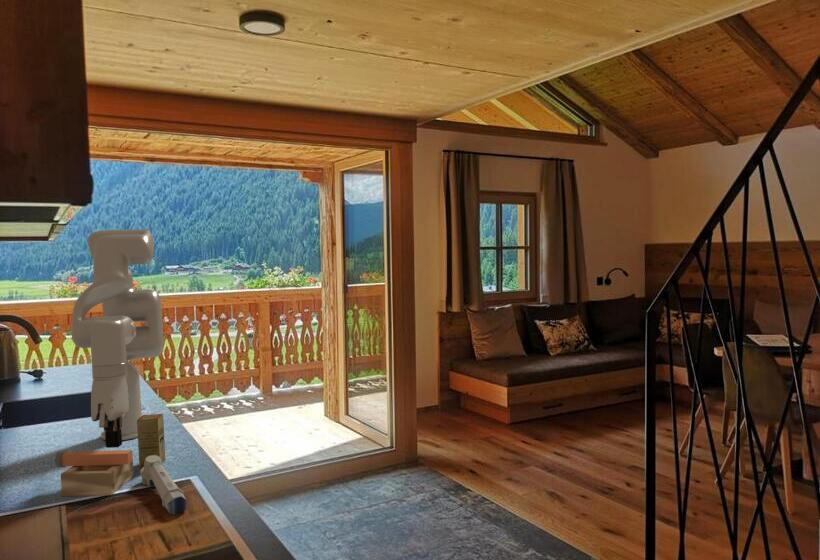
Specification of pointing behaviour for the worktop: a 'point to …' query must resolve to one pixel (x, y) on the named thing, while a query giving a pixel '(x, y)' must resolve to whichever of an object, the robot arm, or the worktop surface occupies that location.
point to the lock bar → (93, 458)
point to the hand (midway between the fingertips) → (114, 446)
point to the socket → (95, 479)
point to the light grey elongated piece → (163, 485)
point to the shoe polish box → (150, 437)
